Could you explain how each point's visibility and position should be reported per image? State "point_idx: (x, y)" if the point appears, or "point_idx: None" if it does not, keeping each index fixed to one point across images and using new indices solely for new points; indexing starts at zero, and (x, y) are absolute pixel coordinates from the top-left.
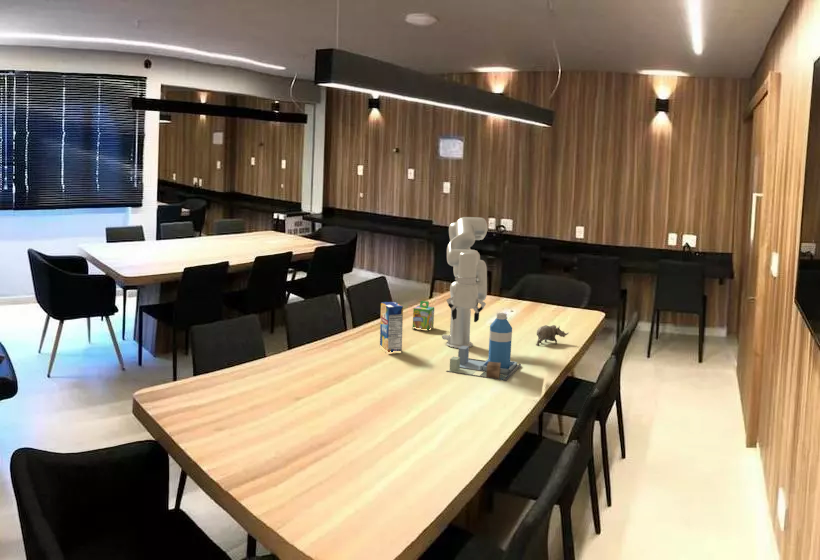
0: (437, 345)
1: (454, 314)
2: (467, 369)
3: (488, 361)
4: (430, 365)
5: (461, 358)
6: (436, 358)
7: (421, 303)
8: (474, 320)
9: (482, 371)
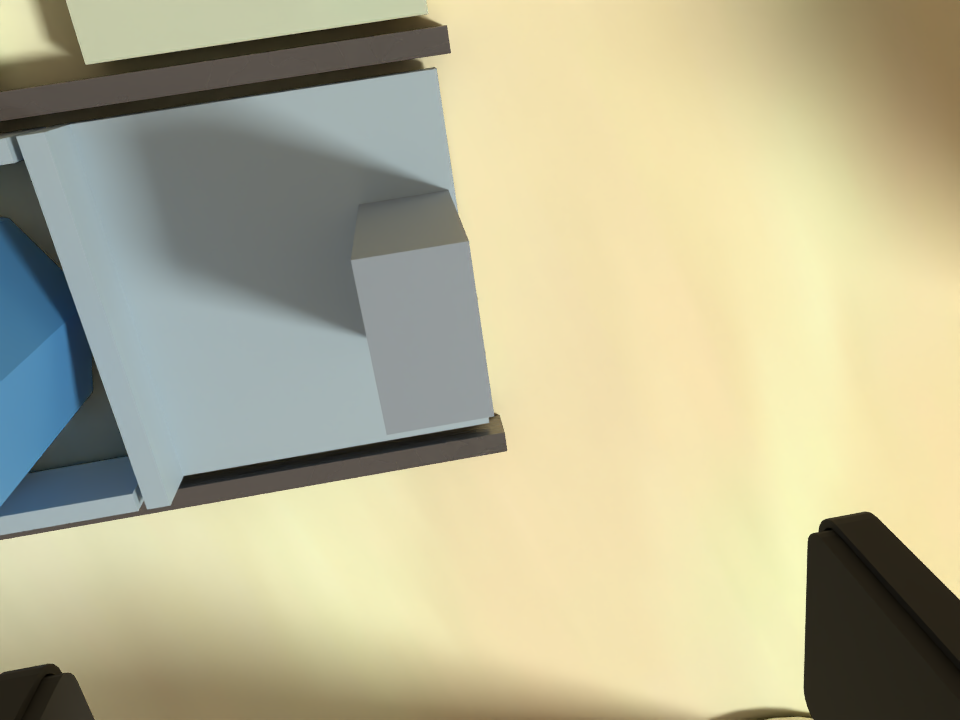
0: None
1: (919, 658)
2: (218, 41)
3: (35, 326)
4: (760, 23)
5: (405, 213)
6: (800, 327)
7: None
8: (21, 703)
9: (10, 92)
